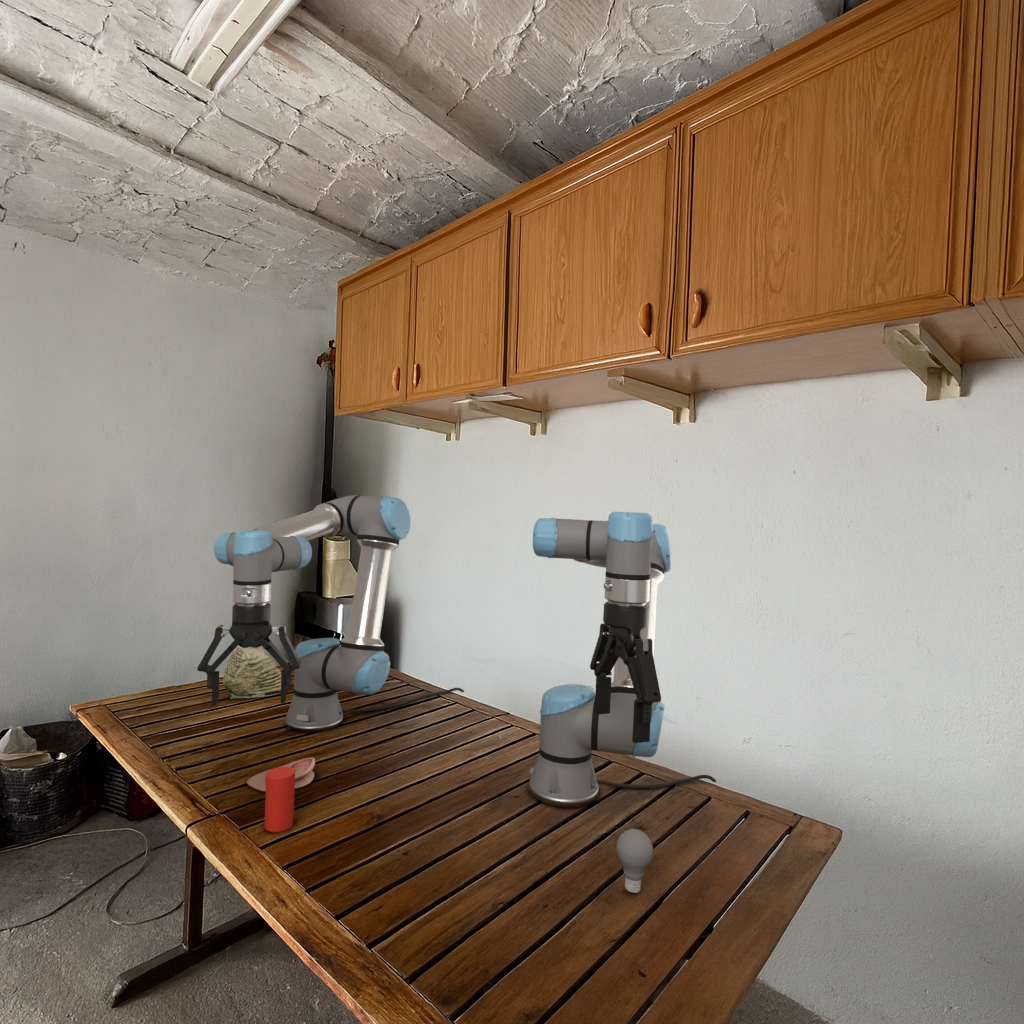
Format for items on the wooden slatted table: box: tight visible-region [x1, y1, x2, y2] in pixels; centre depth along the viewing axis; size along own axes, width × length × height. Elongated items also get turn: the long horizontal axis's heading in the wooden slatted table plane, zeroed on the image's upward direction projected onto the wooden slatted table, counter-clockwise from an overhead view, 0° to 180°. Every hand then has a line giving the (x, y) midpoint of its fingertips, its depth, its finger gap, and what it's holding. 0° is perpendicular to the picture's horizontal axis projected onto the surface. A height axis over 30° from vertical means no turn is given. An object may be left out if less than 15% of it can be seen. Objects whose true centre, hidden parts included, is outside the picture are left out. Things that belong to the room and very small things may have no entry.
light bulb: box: [615, 828, 654, 894], centre depth 106 cm, size 6×6×10 cm
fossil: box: [222, 646, 282, 699], centre depth 198 cm, size 9×18×15 cm, turn 132°
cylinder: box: [263, 766, 296, 833], centre depth 122 cm, size 5×5×10 cm
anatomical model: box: [246, 757, 316, 792], centre depth 140 cm, size 13×4×12 cm
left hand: (249, 702), depth 135 cm, fingers open, 13 cm apart
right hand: (620, 726), depth 108 cm, fingers open, 13 cm apart
